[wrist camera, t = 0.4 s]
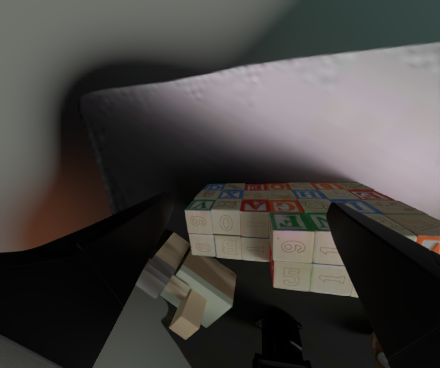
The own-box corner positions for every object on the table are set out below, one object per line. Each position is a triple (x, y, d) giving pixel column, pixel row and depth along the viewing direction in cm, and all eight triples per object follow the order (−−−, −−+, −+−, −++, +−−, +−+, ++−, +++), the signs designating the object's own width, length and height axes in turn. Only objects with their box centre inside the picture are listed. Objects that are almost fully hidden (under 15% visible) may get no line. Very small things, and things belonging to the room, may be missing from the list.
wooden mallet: (183, 295, 26) (166, 332, 21) (131, 257, 26) (102, 286, 21) (191, 285, 25) (176, 323, 20) (137, 246, 25) (108, 274, 20)
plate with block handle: (207, 321, 28) (198, 358, 24) (162, 289, 28) (144, 320, 24) (233, 300, 25) (227, 337, 21) (182, 264, 25) (166, 293, 21)
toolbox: (214, 295, 33) (201, 348, 25) (158, 255, 33) (126, 295, 25) (236, 274, 30) (229, 327, 22) (175, 230, 30) (144, 266, 22)
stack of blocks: (211, 217, 28) (179, 276, 16) (207, 182, 26) (168, 223, 14) (352, 222, 23) (450, 313, 11) (361, 181, 21) (486, 240, 10)
